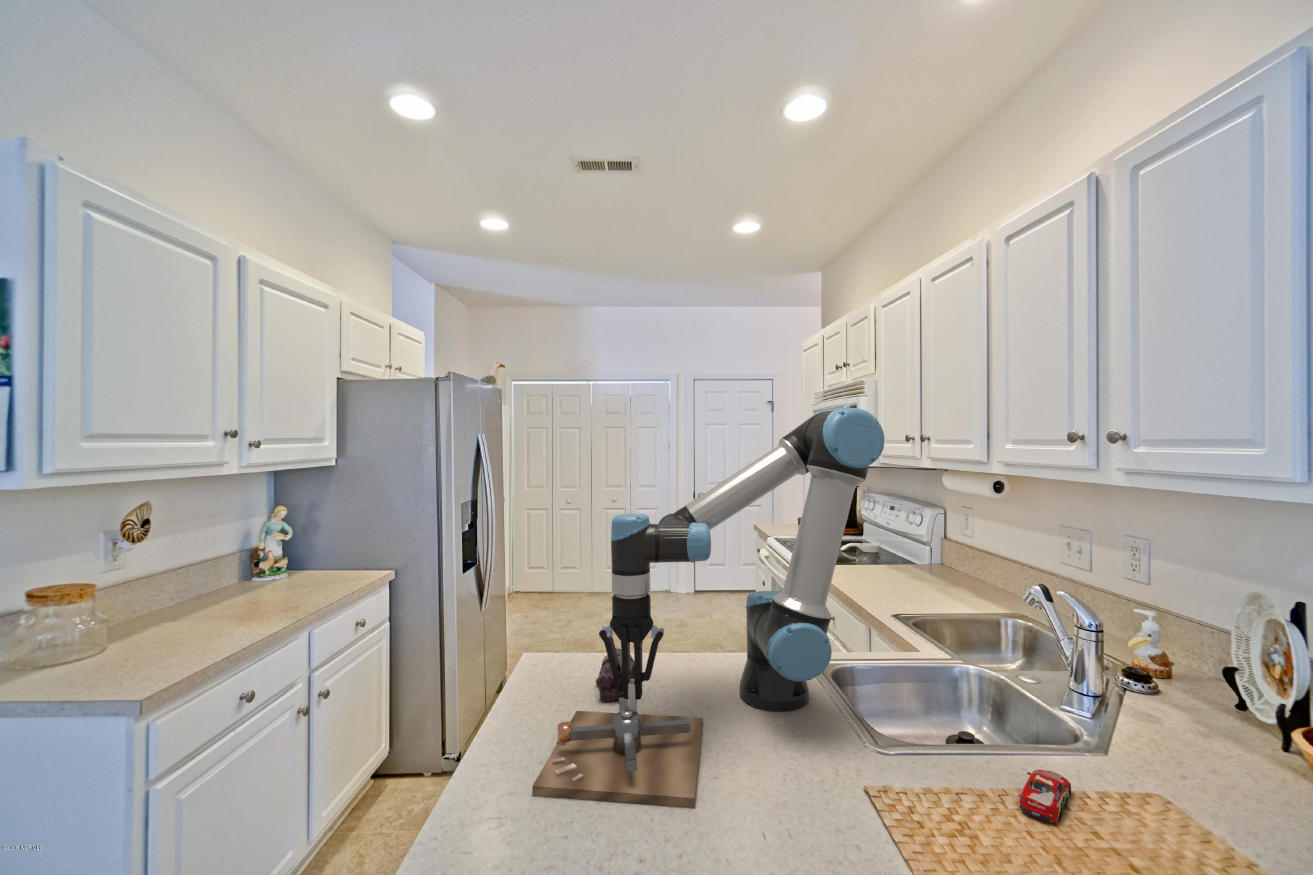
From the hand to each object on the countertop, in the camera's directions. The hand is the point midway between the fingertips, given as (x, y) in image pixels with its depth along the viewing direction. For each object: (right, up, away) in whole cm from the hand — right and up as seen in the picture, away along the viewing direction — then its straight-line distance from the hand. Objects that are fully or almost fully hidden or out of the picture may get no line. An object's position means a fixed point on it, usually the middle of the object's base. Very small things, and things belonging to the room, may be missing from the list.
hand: (633, 715), depth 110 cm
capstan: (-1, -2, -8) cm, 9 cm away
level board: (-1, -3, -8) cm, 9 cm away
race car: (+65, -3, -22) cm, 69 cm away
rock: (-5, -4, +18) cm, 19 cm away
